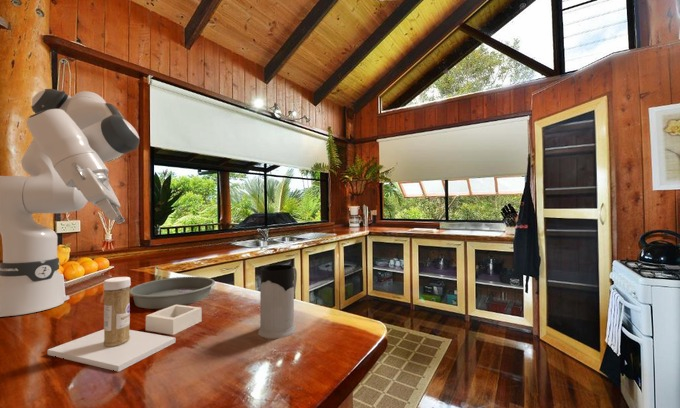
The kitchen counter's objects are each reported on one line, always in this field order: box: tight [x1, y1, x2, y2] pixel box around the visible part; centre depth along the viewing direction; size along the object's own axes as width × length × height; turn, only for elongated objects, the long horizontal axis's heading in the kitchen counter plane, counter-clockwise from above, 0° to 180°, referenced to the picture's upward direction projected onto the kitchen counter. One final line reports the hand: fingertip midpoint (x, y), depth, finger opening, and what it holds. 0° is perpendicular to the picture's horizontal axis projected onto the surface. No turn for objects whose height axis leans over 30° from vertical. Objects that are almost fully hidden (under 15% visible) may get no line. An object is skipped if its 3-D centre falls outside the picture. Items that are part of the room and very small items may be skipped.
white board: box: [47, 328, 176, 373], centre depth 60 cm, size 20×12×1 cm, turn 72°
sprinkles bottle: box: [102, 276, 132, 347], centre depth 61 cm, size 5×5×14 cm
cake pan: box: [129, 276, 216, 310], centre depth 96 cm, size 25×25×4 cm
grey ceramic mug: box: [258, 264, 298, 340], centre depth 72 cm, size 9×14×15 cm, turn 162°
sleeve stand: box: [145, 304, 203, 336], centre depth 72 cm, size 9×9×4 cm
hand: (118, 220), depth 72 cm, fingers open, 8 cm apart
